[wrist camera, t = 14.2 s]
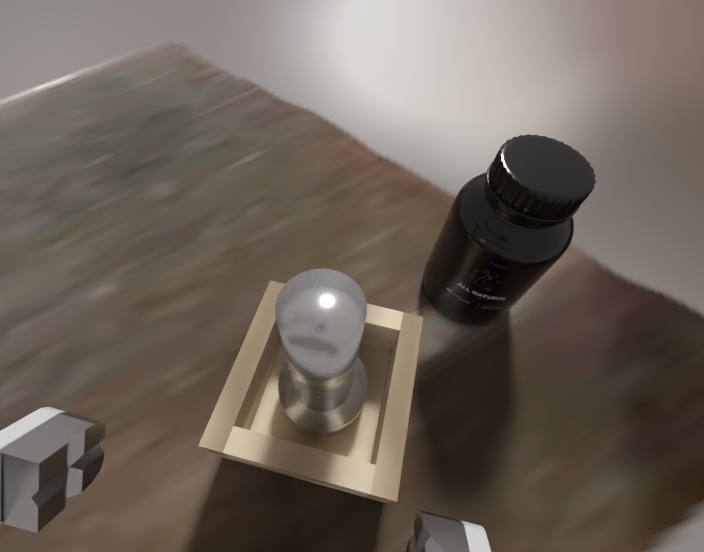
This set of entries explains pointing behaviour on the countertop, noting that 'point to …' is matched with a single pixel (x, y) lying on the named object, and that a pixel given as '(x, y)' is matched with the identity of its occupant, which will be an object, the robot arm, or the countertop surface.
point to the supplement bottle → (507, 229)
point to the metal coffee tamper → (322, 351)
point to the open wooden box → (321, 451)
